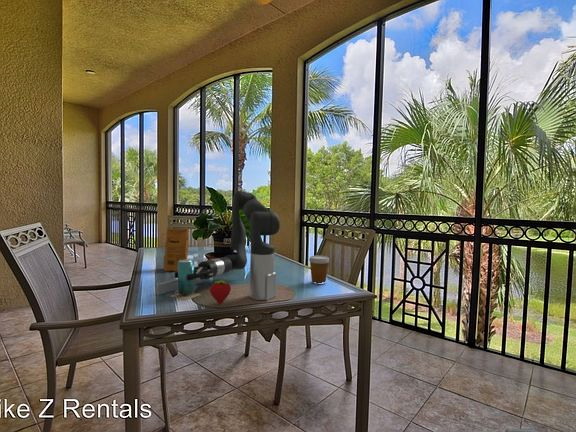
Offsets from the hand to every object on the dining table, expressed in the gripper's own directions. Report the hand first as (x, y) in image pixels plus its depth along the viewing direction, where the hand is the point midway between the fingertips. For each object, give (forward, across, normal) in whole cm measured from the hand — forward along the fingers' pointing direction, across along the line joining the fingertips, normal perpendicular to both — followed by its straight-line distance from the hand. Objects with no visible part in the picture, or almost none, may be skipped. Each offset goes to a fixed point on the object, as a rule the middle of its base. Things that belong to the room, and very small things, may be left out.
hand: (181, 276), depth 124 cm
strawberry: (-2, +17, +8) cm, 19 cm away
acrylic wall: (-9, -10, +8) cm, 16 cm away
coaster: (-2, 0, +8) cm, 8 cm away
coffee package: (-32, -38, +9) cm, 50 cm away
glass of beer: (-50, +35, +9) cm, 62 cm away
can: (-2, 0, +7) cm, 7 cm away
